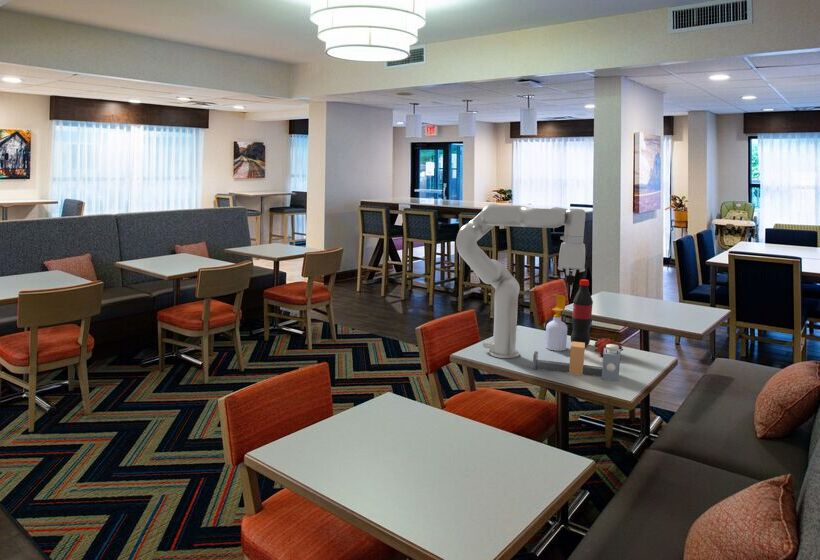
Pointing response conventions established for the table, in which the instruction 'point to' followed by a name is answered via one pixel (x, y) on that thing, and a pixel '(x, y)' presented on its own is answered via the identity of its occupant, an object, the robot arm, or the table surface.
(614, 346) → the plunger
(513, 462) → the table surface
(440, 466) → the table surface
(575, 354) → the wooden block
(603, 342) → the dragon fruit
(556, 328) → the soap bottle
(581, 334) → the cola bottle
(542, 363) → the rail
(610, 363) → the grey boxy piece
